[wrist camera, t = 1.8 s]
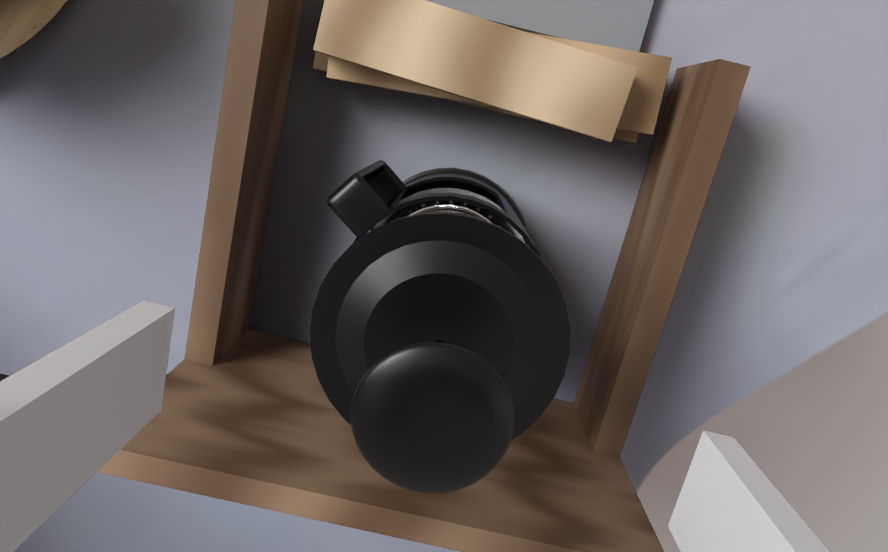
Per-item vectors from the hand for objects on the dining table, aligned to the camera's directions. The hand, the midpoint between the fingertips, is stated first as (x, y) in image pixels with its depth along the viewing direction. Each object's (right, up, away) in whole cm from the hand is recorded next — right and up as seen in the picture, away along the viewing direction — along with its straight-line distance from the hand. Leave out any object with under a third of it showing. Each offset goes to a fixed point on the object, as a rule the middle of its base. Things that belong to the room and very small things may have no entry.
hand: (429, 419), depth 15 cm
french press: (0, +6, +23) cm, 24 cm away
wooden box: (+1, +7, +22) cm, 23 cm away
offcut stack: (+3, +15, +20) cm, 26 cm away
